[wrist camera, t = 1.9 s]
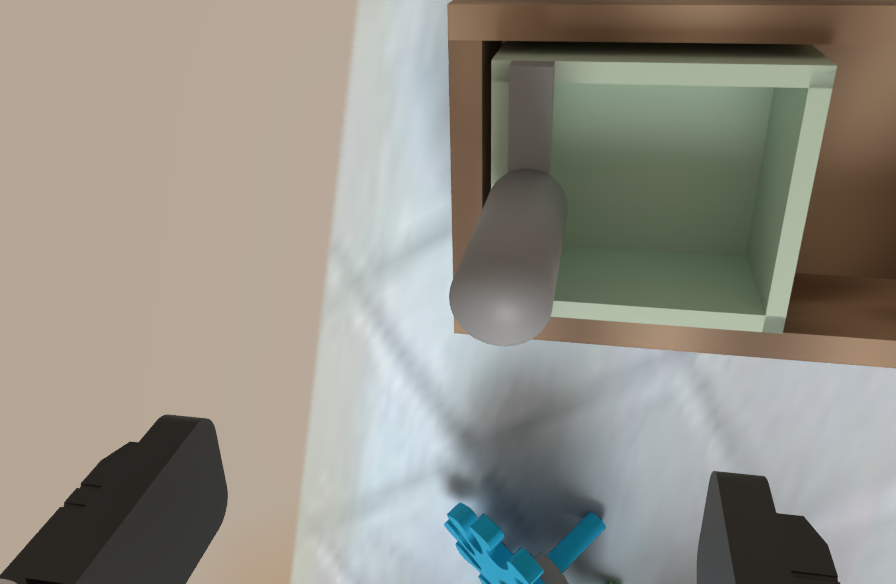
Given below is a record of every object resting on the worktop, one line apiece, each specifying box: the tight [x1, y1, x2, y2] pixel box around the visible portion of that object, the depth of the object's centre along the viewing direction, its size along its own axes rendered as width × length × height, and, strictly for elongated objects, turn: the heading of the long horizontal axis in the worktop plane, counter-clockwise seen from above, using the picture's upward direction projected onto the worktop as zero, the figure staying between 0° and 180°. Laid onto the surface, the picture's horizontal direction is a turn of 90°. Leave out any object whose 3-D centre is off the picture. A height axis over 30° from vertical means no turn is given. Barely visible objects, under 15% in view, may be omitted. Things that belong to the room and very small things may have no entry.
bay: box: [448, 0, 896, 368], centre depth 26 cm, size 20×11×5 cm, turn 92°
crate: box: [449, 41, 837, 346], centre depth 23 cm, size 9×8×12 cm
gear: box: [444, 503, 613, 584], centre depth 36 cm, size 11×6×10 cm
